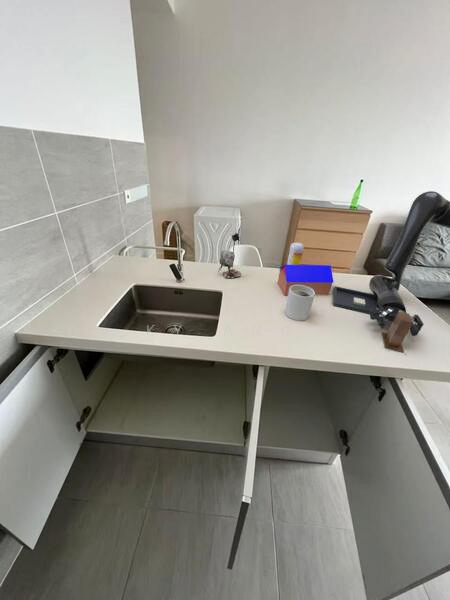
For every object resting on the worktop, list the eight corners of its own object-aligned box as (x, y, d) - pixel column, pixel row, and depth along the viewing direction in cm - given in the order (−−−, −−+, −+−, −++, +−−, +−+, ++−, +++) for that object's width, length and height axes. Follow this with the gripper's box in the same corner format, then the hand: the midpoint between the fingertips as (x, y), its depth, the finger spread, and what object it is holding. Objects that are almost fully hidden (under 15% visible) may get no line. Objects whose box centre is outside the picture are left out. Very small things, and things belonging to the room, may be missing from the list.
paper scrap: (363, 301, 100) (364, 299, 100) (364, 306, 97) (365, 304, 96) (353, 299, 101) (354, 297, 101) (353, 303, 98) (354, 301, 98)
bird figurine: (218, 271, 120) (219, 230, 109) (240, 272, 120) (244, 231, 110) (217, 278, 113) (218, 235, 103) (241, 279, 113) (245, 237, 103)
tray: (382, 300, 103) (384, 296, 102) (388, 320, 90) (390, 315, 89) (333, 290, 109) (334, 286, 108) (332, 307, 96) (334, 302, 95)
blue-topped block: (276, 282, 112) (280, 259, 106) (318, 283, 114) (324, 259, 108) (283, 296, 102) (289, 270, 96) (329, 296, 104) (337, 271, 98)
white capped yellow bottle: (300, 274, 121) (307, 245, 114) (291, 276, 118) (298, 247, 111) (291, 269, 126) (297, 241, 118) (282, 272, 123) (288, 243, 115)
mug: (294, 322, 86) (300, 298, 81) (278, 309, 93) (283, 286, 88) (317, 316, 90) (324, 293, 85) (300, 303, 97) (306, 281, 92)
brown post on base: (396, 340, 80) (412, 312, 74) (401, 356, 74) (418, 326, 68) (379, 336, 82) (393, 308, 76) (382, 351, 76) (398, 321, 69)
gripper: (372, 290, 87) (377, 314, 74) (418, 300, 83) (432, 326, 70) (364, 308, 91) (368, 333, 78) (408, 318, 87) (420, 346, 74)
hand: (398, 330), depth 74 cm, fingers open, 8 cm apart
